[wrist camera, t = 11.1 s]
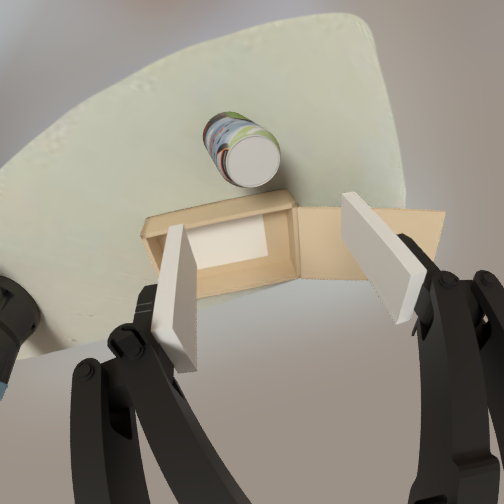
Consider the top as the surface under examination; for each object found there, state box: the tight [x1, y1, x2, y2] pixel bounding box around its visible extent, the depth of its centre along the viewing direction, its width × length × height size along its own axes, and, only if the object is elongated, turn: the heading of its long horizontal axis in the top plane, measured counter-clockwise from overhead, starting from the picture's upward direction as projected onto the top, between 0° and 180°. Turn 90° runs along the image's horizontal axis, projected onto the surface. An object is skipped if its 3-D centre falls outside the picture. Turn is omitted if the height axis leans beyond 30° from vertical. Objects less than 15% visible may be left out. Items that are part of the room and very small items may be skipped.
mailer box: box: [140, 189, 301, 298], centre depth 40 cm, size 20×12×5 cm, turn 98°
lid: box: [297, 207, 445, 280], centre depth 36 cm, size 19×12×1 cm, turn 98°
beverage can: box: [203, 112, 280, 187], centre depth 29 cm, size 6×7×12 cm
